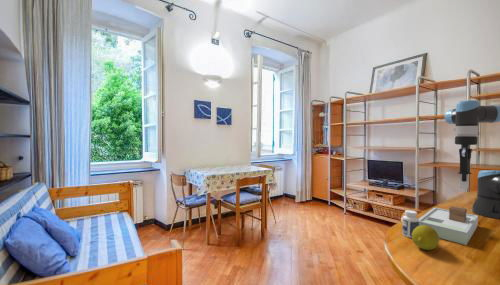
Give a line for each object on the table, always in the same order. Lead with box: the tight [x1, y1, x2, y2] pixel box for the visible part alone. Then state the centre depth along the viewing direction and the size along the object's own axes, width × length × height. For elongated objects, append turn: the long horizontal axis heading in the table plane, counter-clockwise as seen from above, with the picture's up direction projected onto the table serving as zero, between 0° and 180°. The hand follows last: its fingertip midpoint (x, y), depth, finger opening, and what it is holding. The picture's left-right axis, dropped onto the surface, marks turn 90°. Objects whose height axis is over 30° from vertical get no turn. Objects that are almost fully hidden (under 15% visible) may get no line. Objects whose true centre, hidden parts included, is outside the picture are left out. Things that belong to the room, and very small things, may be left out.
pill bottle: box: [401, 209, 419, 239], centre depth 97 cm, size 5×5×10 cm
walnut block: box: [448, 205, 468, 223], centre depth 105 cm, size 5×5×5 cm
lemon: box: [411, 225, 440, 251], centre depth 87 cm, size 11×8×8 cm
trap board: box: [418, 207, 479, 246], centre depth 106 cm, size 30×16×5 cm, turn 131°
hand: (464, 188), depth 109 cm, fingers closed
